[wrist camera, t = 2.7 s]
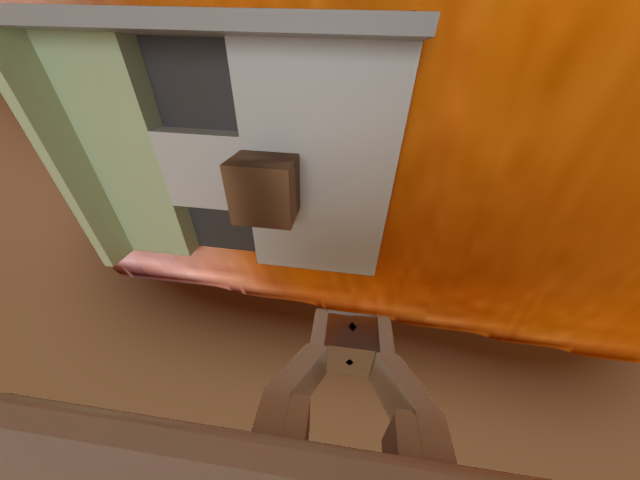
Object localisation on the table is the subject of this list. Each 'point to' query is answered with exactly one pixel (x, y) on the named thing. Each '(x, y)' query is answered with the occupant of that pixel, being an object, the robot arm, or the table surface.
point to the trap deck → (215, 120)
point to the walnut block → (262, 188)
